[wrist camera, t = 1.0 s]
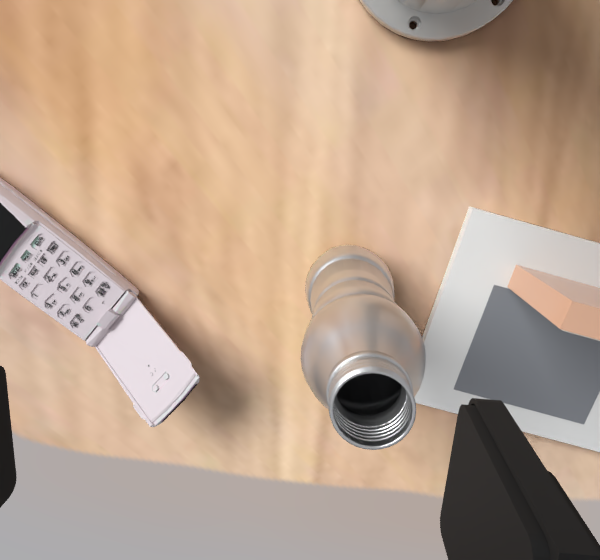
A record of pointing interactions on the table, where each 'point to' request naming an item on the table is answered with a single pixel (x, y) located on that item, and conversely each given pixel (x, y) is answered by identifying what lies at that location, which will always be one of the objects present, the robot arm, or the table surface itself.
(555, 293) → the tile
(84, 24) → the table surface
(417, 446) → the table surface
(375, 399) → the plastic bottle
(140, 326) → the mobile phone
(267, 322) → the table surface
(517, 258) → the mat
